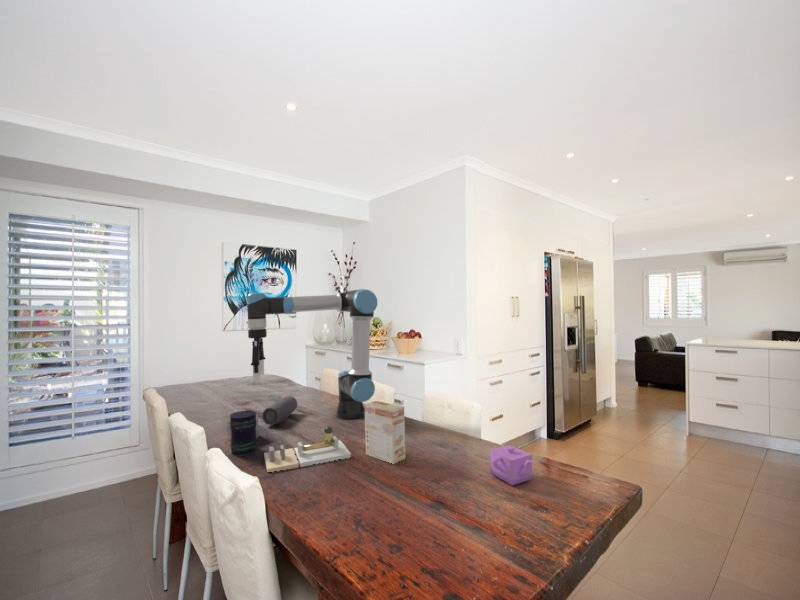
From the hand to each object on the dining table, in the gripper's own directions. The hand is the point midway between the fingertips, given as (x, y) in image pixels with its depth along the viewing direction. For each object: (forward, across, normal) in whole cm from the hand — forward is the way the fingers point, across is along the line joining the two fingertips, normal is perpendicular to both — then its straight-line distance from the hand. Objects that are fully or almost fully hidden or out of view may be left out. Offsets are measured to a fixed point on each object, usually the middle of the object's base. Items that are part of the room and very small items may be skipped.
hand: (259, 377), depth 171 cm
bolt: (+25, +25, +24) cm, 43 cm away
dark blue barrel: (+27, +12, -5) cm, 30 cm away
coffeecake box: (+28, +34, +49) cm, 65 cm away
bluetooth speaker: (+27, -26, +6) cm, 39 cm away
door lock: (+27, +26, +20) cm, 42 cm away
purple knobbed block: (+28, +64, +84) cm, 110 cm away
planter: (+27, -3, -7) cm, 28 cm away
